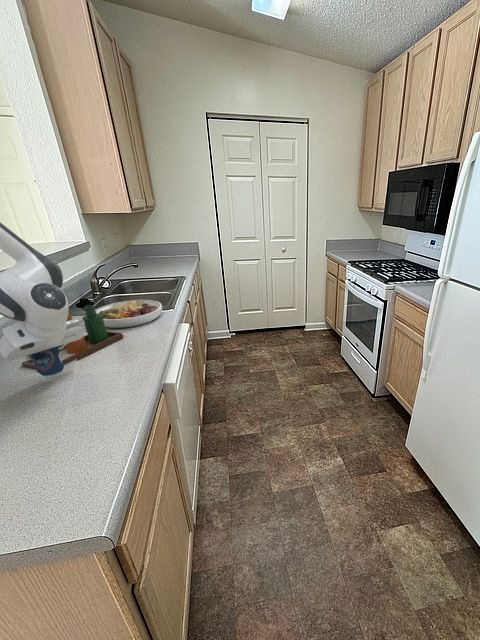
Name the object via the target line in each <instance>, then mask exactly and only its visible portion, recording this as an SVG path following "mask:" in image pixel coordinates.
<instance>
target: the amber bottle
mask: <svg viewBox="0 0 480 640" xmlns="http://www.w3.org/2000/svg"><path fill="white" fill-rule="evenodd" d="M70 320H74V319H73V317H72V314H71V313H70V312H68V318H67V321H70ZM84 336H85V335H84ZM84 336H83V338H81V339H80V340H76V341H73V342H70V343H68V344H66V345H65V348H66V349H65V350H66V353H67V354H69V355H74V354H76V353H79V352H81V351H83V350H85V349H87V348H88V347H87V344H86V341H85V338H84Z"/></svg>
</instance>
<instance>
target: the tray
mask: <svg viewBox="0 0 480 640" xmlns="http://www.w3.org/2000/svg"><path fill="white" fill-rule="evenodd" d="M107 334H108V337H109V339H106V340H104V341H102V342H100V343H98V344H91V343H90V340H89V337H88V334H84V338H85V341H86V344H87V347H88V348H87V349H85V350H83V351H81V352H79V353H76V354H71V355H70V356H68V357H66V358H63V359H62V361H63V363H64V365H66V364H68V363H70V362H71V363H72V361H75V360H76V362H78V361H80V360H82V359H84V358H86V357H89V356H91V355H92V354H95V353H97V352H98V351H101V350H103V349H105V348H107V347H109V346H111V345H113V344H115V343H118V342H119V341H121V340H124V336H123V332H116V331H110V330H107ZM64 350H66V348H65V346H64V347H63V349H60V350H59V352H61V351H64ZM21 365H22V367H24V368H29V369H33V370H34V369H35V370H37V369H36V367H35V365H34V362H33V360H32V359H28V360H24V361H22V362H21Z"/></svg>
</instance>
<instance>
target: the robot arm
mask: <svg viewBox="0 0 480 640" xmlns="http://www.w3.org/2000/svg"><path fill="white" fill-rule="evenodd" d="M0 250H1V251H2V252H4V253H5V254H6V255H8V256H9V257H10V258H11V259H13V260H14V261H15V262H16V263H15V264H13V265H12V266H10V267H8V268H7V269H5V270H3V271H1V272H0V315H1V316H3V317H5V318H7V319H11V320H12V321H13V320H14V321H17V322H15V323H14V324H11V325H8V326H5V327H4V328H2V330H1V331H2V334H3V335H2V336H1V338H0V354H1V356H2V357H3V359H4V360H5V361H9V362H11V361H14V360H17V359H20V358H25V361H27V360H29V359H32V358H33V356H32V354H34V353H37V352H40V351H44V350H47V349H50V348H53V347H58V350H60V349H63V347H64V346H65V345H66V344H68V343H70V342H73V341H76V340H80V339H81V338H83V336H85V330H84V328H83V327H85V325H84V324H85V321H84V320H83V319H73V320H70V321H67V318H68V313H69V310H70V307H69V306H70V305H69V301H68V297H67V296H66V293H65V292H64V291H63V290H62V289H61V288H62V287H63V284H64V276H63V271H62V269H61V267H60V266H59V265H58V264H57V263H56V262H55V261H54V260H52V259H51V258H49V257H48V256H46V255H44V254H43V253H41V252H40V251H38V250H37V249H35V248H34V247H32V246H31V245H30V244H28V242H26V241H25V240H23V239H22V238H21V237H20V236H19V235H17V234H16V233H14V232H13V231H12V230H10V228H8V227H7V226H6V225H5V224H3V223H2V222H0Z"/></svg>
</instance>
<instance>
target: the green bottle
mask: <svg viewBox="0 0 480 640" xmlns="http://www.w3.org/2000/svg"><path fill="white" fill-rule="evenodd" d="M83 309H84V311H85V314H86V315H83V316H82V318H81V320H84V321H85V324H84V329H85V331H86V335H88V337H89V340H90V343H91V344H98V343H100V342H102V341H104V340H106V339H109V337H108V334H107V331H108V330H107V327H105V324H104V320H103V317H102V314H98V313H97V314H96V311H95V310H96V308H95V306H94V304H89V305H85V306H84V307H83Z"/></svg>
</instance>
